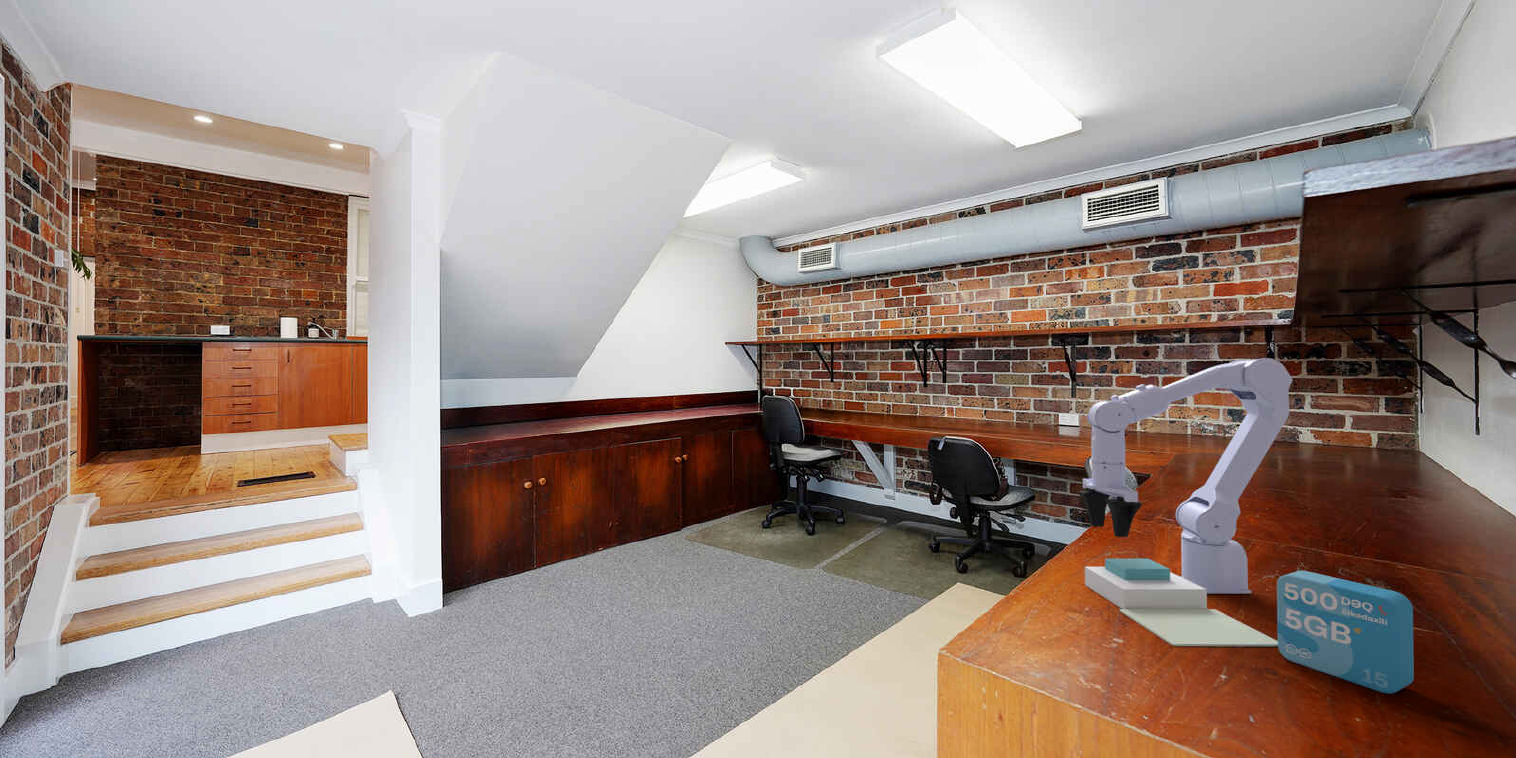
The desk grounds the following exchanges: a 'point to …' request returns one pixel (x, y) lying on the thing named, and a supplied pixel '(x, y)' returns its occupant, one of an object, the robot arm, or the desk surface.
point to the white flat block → (1146, 591)
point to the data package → (1346, 630)
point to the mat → (1198, 627)
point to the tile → (1137, 569)
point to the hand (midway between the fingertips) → (1108, 531)
